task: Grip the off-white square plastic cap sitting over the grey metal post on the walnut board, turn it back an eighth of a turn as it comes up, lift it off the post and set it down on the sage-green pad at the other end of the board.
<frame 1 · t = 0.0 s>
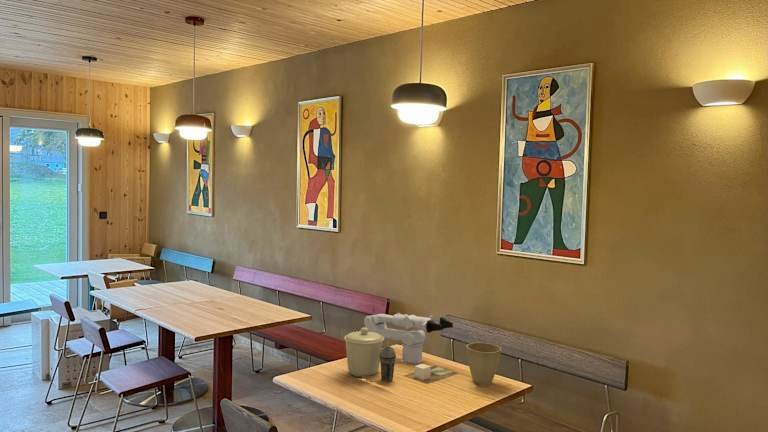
hand: (447, 326, 253), 22 cm above the table, tool horizontal, fingers open, 7 cm apart
post board: (431, 377, 249), on the table
canister: (363, 374, 251), on the table
cap: (422, 377, 244), point 1 cm above the table, touching post board
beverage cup: (386, 382, 240), on the table
plant pot: (482, 383, 242), on the table
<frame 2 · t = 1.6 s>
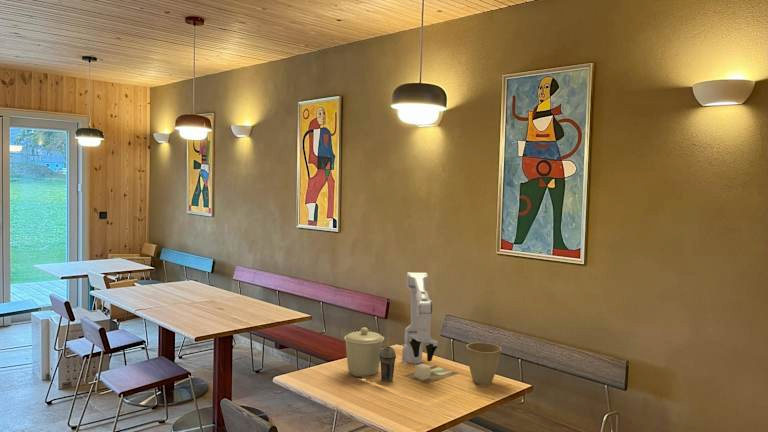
hand: (422, 358, 244), 9 cm above the table, tool pointing down, fingers open, 7 cm apart
nothing on the table moved.
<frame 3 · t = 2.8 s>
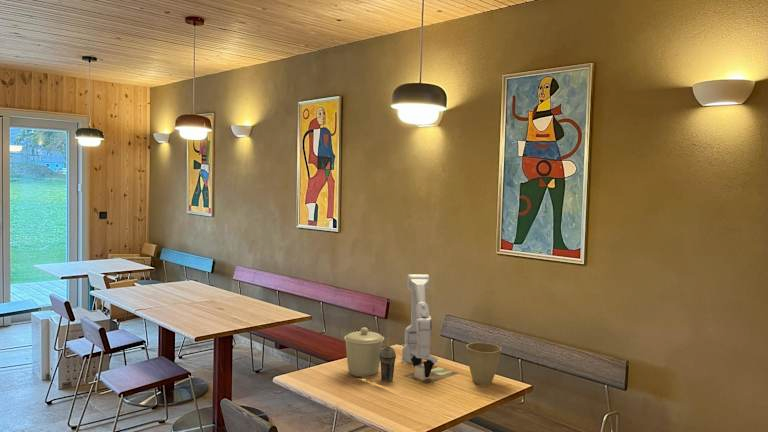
hand: (422, 375, 244), 2 cm above the table, tool pointing down, fingers closed on cap, 5 cm apart
cap: (422, 377, 244), point 1 cm above the table, touching gripper, post board
everything else where it was.
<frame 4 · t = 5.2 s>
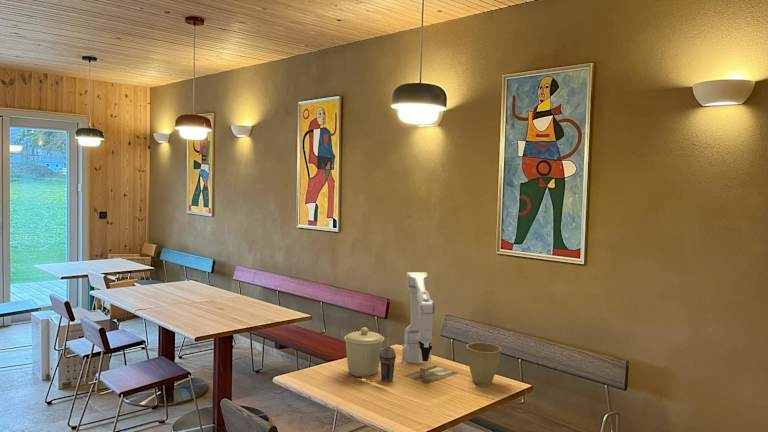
hand: (424, 359, 245), 9 cm above the table, tool pointing down, fingers closed on cap, 5 cm apart
cap: (424, 361, 245), point 8 cm above the table, touching gripper
everything else where it was.
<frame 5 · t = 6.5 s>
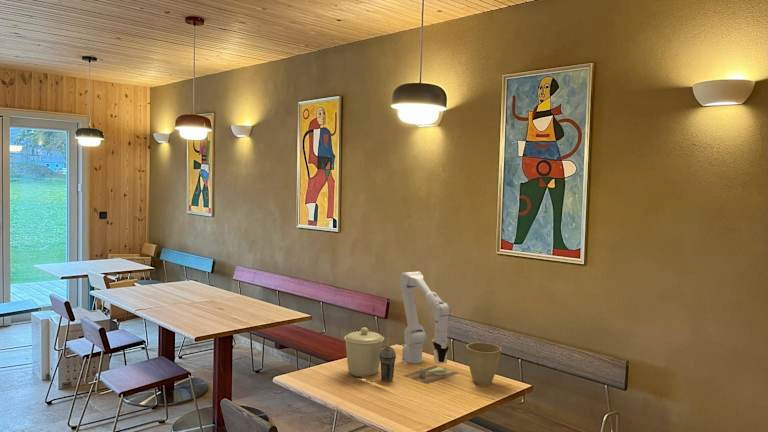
hand: (440, 359, 253), 7 cm above the table, tool pointing down, fingers closed on cap, 5 cm apart
cap: (440, 361, 253), point 6 cm above the table, touching gripper
everything else where it was.
when the fingers open (4 cm above the table, at t = 7.5 s): cap drops 2 cm, resting on post board.
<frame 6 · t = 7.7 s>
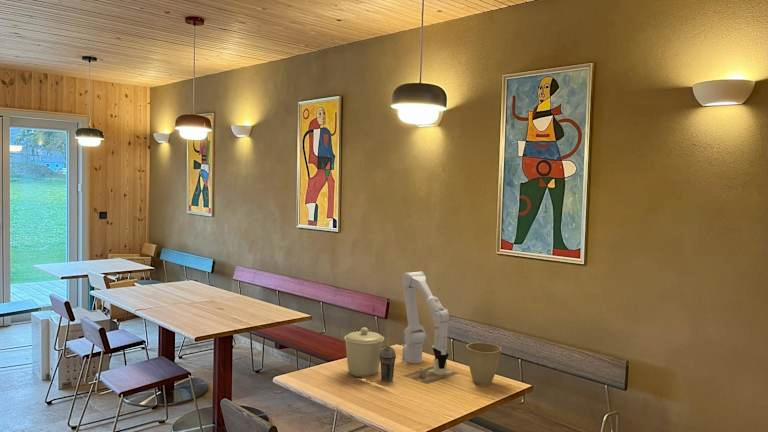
hand: (439, 365, 253), 4 cm above the table, tool pointing down, fingers open, 7 cm apart
cap: (439, 371, 253), point 1 cm above the table, touching post board
everything else where it was.
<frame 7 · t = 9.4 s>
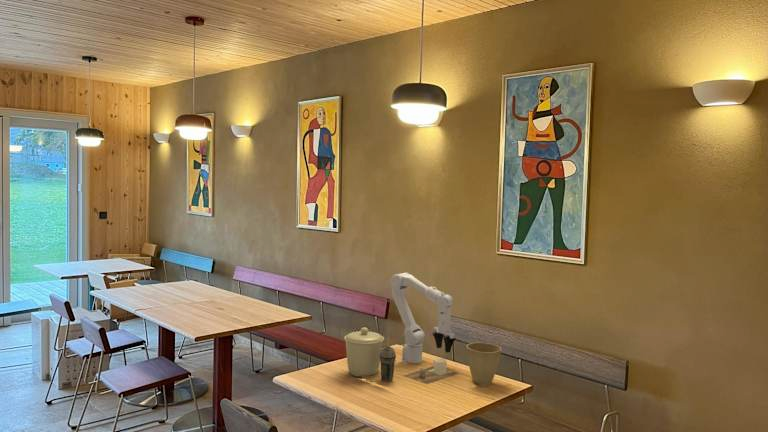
hand: (443, 349, 259), 9 cm above the table, tool pointing down, fingers open, 7 cm apart
nothing on the table moved.
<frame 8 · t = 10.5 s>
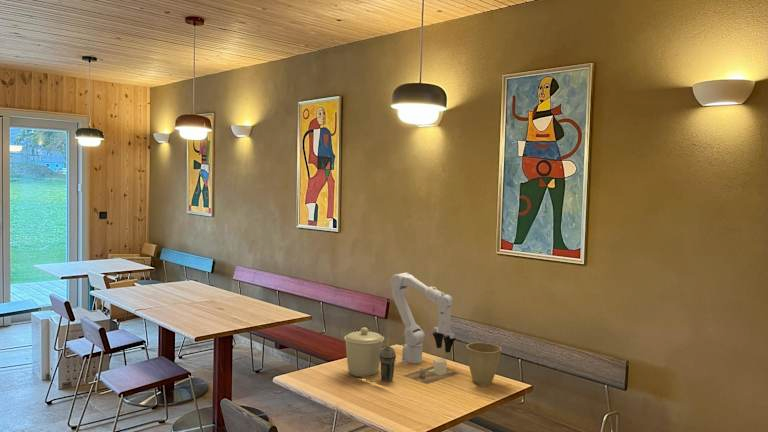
hand: (443, 349, 259), 9 cm above the table, tool pointing down, fingers open, 7 cm apart
nothing on the table moved.
at the end: cap 0.0 cm from the target spot on the post board, point 1.4 cm above the post board's base; cap tilted 0°; the gripper is holding nothing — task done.
